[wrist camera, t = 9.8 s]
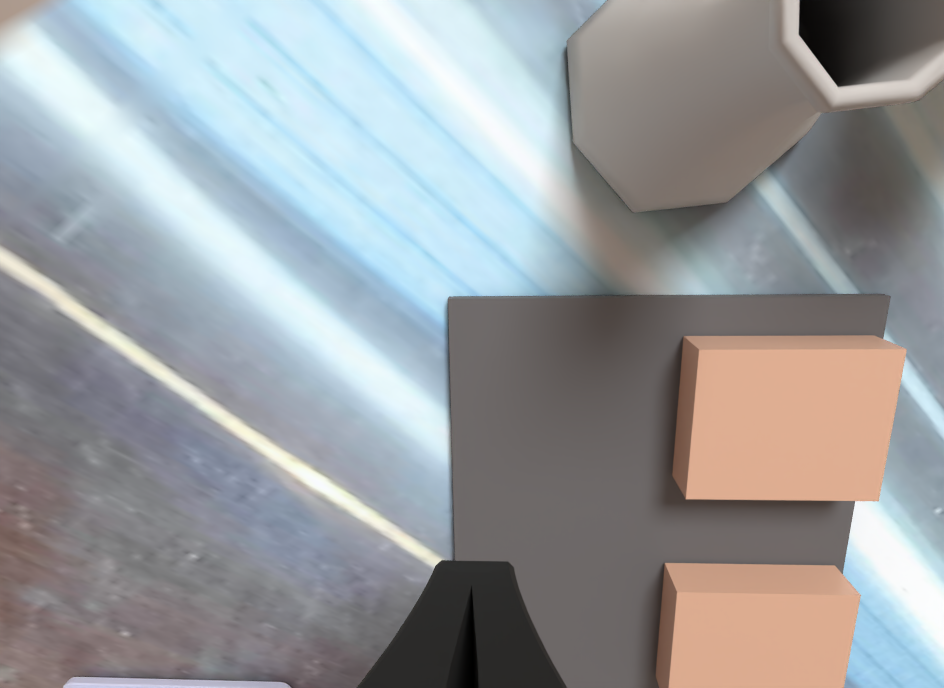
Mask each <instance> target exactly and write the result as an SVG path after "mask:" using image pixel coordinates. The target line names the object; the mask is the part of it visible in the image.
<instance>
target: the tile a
mask: <svg viewBox="0 0 944 688" xmlns="http://www.w3.org/2000/svg"><path fill="white" fill-rule="evenodd" d="M860 596H861V595H860V594H859V593H858V592H857V591H856V589H855V588H854V587H853V586H852V585H851V584H850V582H849V581H848V580H847V579H846V578H845V577H844V575H843V574H842V573H841V572H840V571H839V570H838V568H837V567H836V566H835V565H772V564H705V563H665V565H664V578H663V590H662V602H661V615H660V627H659V639H658V652H657V664H656V679H657V682H658V685H659V688H844V683H845V678H846V672H847V667H848V661H849V656H850V651H851V645H852V640H853V634H854V629H855V623H856V618H857V613H858V607H859V602H860Z"/></svg>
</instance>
